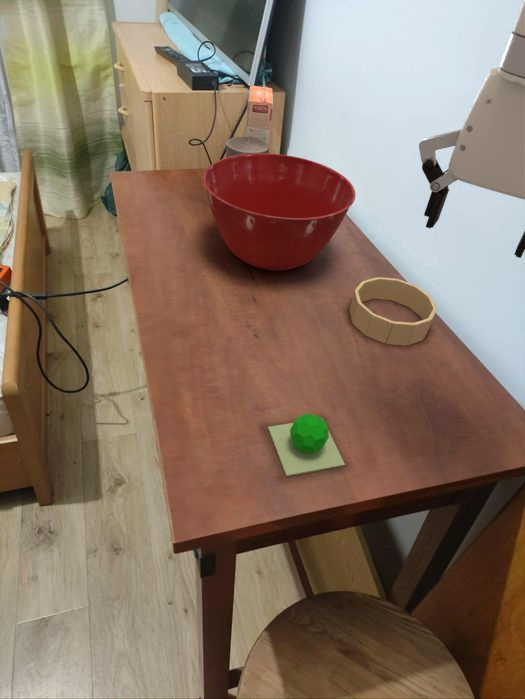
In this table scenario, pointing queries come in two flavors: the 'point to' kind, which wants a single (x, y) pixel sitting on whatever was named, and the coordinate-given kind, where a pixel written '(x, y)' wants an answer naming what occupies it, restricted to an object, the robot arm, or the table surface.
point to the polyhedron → (309, 433)
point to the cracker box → (259, 113)
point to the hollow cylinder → (384, 327)
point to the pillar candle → (245, 146)
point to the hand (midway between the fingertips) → (474, 237)
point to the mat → (303, 453)
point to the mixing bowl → (276, 207)
